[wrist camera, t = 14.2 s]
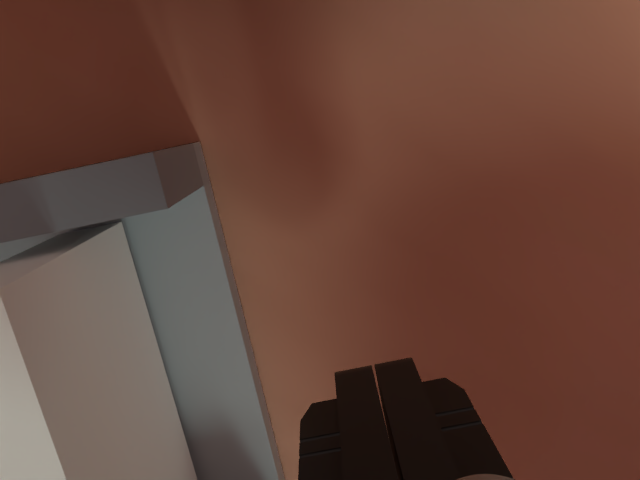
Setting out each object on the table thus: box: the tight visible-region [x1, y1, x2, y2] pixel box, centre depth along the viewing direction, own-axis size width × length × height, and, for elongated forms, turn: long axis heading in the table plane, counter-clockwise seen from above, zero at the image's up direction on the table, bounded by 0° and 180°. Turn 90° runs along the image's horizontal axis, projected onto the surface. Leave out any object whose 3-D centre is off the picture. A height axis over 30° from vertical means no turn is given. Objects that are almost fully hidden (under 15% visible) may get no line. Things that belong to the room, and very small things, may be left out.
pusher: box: [0, 222, 197, 480], centre depth 11 cm, size 8×2×5 cm, turn 12°
